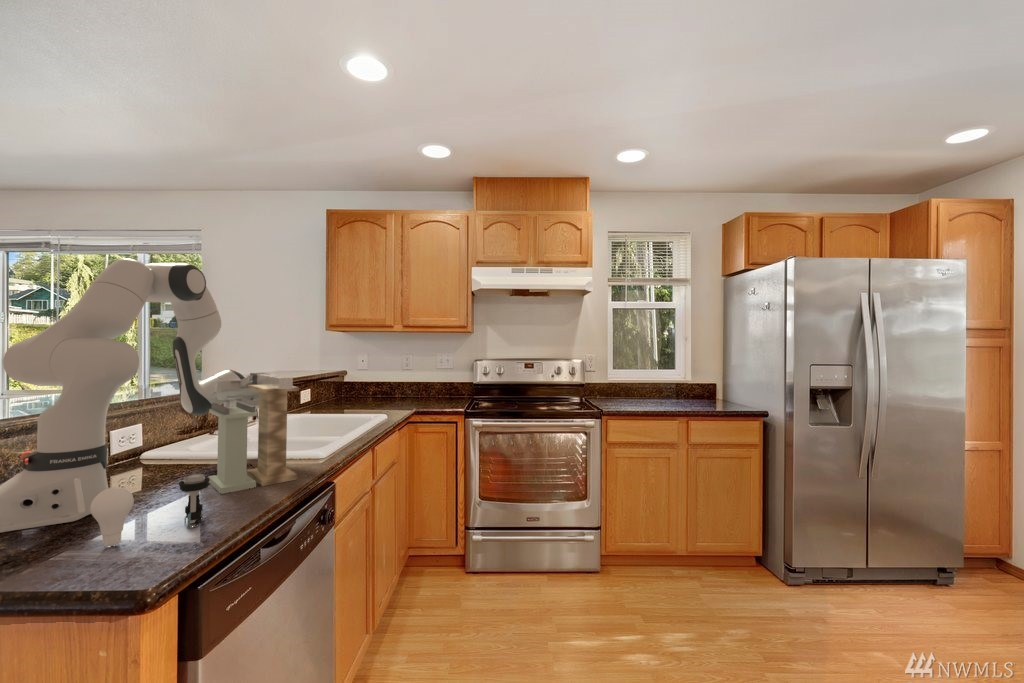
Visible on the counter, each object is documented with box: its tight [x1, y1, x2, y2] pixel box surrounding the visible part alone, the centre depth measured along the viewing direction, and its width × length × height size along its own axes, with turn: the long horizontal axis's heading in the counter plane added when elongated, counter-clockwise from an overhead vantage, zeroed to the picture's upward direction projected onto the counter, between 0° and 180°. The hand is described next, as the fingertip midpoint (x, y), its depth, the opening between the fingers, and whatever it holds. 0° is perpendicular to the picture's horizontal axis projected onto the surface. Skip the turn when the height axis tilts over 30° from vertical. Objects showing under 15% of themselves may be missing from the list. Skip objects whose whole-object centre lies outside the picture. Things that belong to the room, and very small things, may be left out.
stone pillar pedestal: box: [247, 385, 300, 487], centre depth 129 cm, size 9×14×26 cm, turn 45°
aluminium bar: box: [249, 372, 294, 389], centre depth 131 cm, size 4×26×3 cm, turn 45°
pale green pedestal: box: [207, 401, 258, 495], centre depth 122 cm, size 8×14×22 cm, turn 45°
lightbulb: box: [90, 486, 135, 547], centre depth 84 cm, size 6×6×11 cm
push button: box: [178, 473, 210, 529], centre depth 95 cm, size 7×5×10 cm
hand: (260, 376), depth 137 cm, fingers closed on aluminium bar, 3 cm apart
